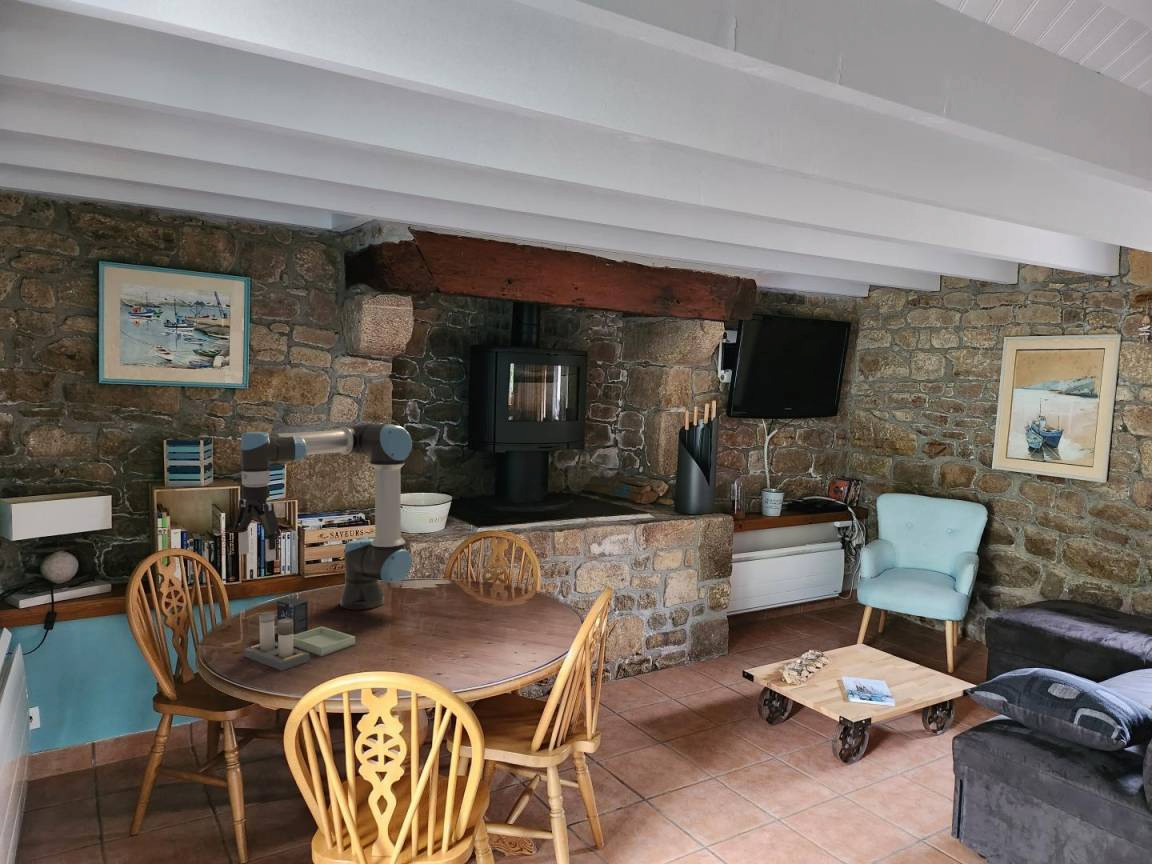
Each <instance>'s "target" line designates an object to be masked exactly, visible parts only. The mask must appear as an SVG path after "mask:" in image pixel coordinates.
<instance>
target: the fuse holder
mask: <svg viewBox="0 0 1152 864" xmlns="http://www.w3.org/2000/svg"><path fill="white" fill-rule="evenodd" d="M243 652H244V655H243V657H245V658H247V659H250V660H252V661H255V662H258V663H261V664H262V665H266V666H268V667H271V668H274V669H276V670H279V671H281V672H282V671H284V670H288V669H290V668H291V669H292V668H293V667H296V666H299V665H303V664H305V663H308V662H310V661H311V660H310V659H311V658H310V656H311V655H310V652H307V651H305V650H304V651H303V650H302V649H299V648H296V647H295V648H294V655H293V656H290V657H287V658H284V659H282V658H279V651H278V641H275V649H274V650H270V651H267V652H263V651H260V643H258V644H254V645H252V646H249V647H247V648H244V649H243Z"/></svg>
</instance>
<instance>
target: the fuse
mask: <svg viewBox="0 0 1152 864" xmlns="http://www.w3.org/2000/svg"><path fill="white" fill-rule="evenodd" d="M275 616H276V614H275V613H273V612H263V613H260V614H259V615H258V620H259V621H258V622H259V644H260V651H263V652H267V651H270V650H274V649H275V642H276V640H275V639H276V637H275V634H276V633H275V632H276V631H275V621H276V619H275Z"/></svg>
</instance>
